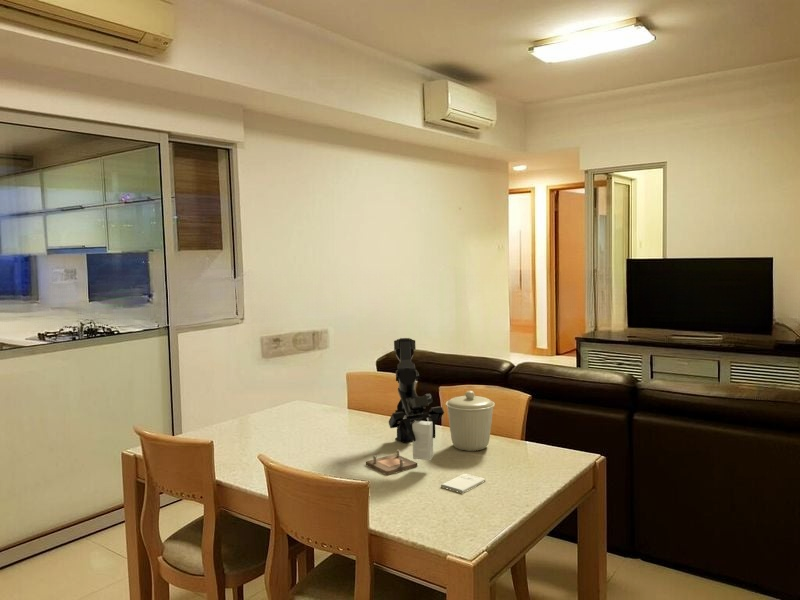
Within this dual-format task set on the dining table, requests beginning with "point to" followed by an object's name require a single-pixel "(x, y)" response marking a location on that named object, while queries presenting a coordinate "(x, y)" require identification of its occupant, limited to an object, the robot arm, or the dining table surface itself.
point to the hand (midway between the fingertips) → (424, 439)
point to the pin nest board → (391, 463)
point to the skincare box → (423, 440)
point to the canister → (470, 421)
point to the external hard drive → (463, 482)
